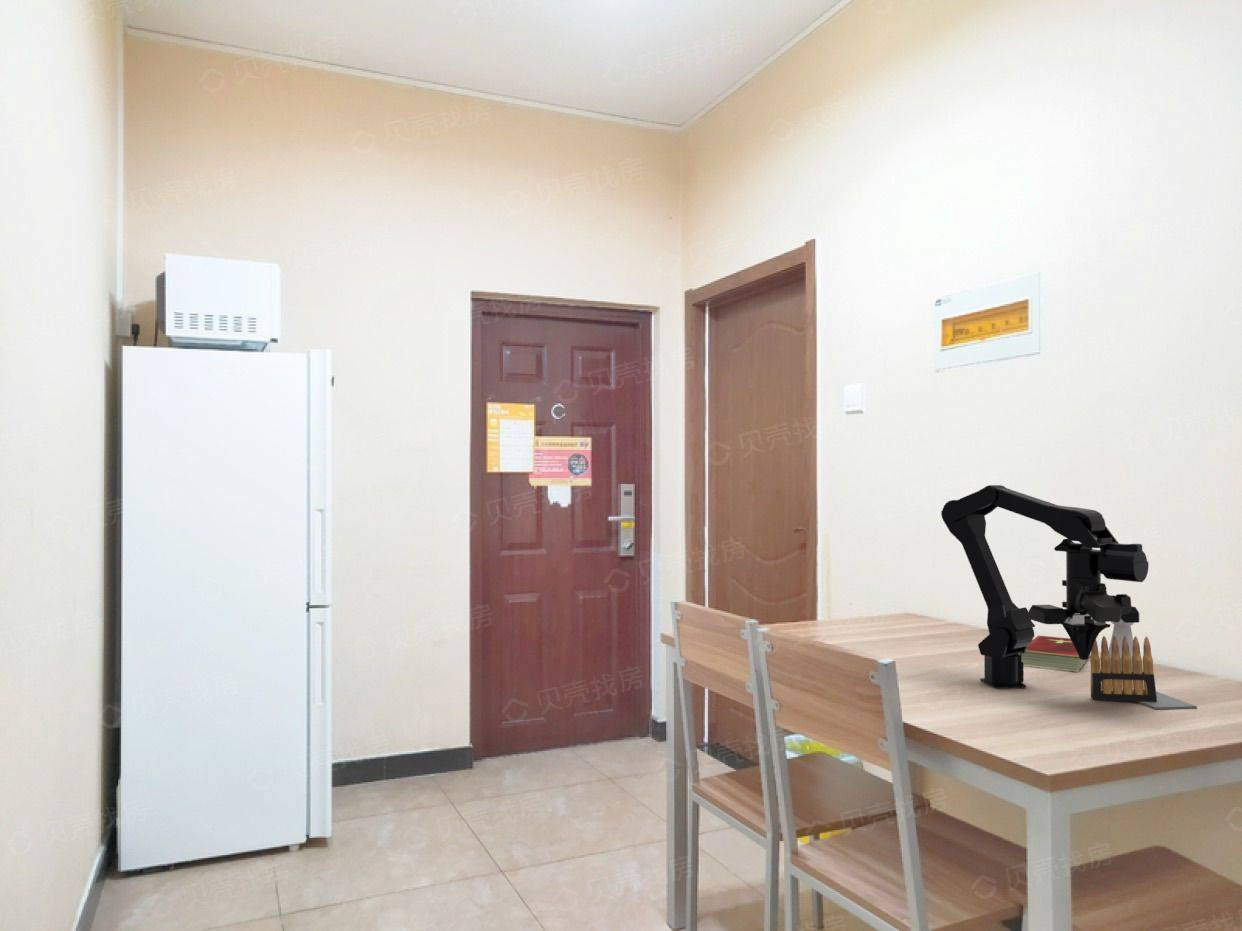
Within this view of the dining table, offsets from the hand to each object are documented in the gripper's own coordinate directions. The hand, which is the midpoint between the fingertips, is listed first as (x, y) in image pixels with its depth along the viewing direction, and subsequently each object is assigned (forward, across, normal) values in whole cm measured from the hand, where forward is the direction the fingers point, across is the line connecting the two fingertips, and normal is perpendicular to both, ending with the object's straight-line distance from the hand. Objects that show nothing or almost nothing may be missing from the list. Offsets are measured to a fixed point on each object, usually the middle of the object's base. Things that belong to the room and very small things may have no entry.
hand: (1083, 659), depth 161 cm
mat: (+8, +14, 0) cm, 16 cm away
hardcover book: (+9, +16, +34) cm, 38 cm away
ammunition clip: (+8, +8, 0) cm, 11 cm away
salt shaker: (+8, +22, +20) cm, 31 cm away
